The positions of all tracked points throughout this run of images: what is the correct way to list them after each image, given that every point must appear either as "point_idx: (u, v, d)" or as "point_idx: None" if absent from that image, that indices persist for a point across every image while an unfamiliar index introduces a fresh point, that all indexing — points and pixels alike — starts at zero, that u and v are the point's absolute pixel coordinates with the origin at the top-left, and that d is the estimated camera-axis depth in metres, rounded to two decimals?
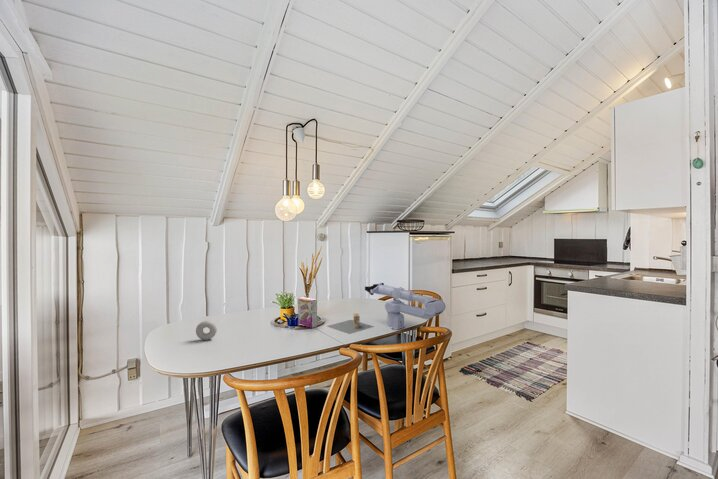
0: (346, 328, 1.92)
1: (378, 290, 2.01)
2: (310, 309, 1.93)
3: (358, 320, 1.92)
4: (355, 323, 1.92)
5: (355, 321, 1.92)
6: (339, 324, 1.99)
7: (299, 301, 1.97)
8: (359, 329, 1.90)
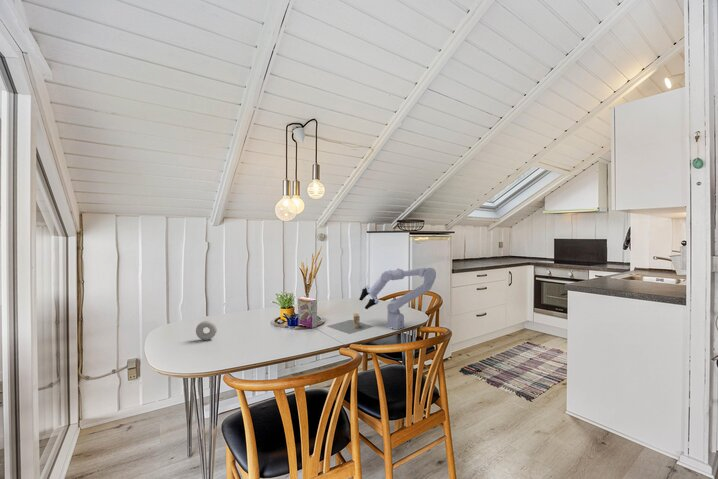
0: (346, 328, 1.92)
1: (375, 295, 1.98)
2: (310, 309, 1.93)
3: (358, 320, 1.92)
4: (355, 323, 1.92)
5: (355, 321, 1.92)
6: (339, 324, 1.99)
7: (299, 301, 1.97)
8: (359, 329, 1.90)
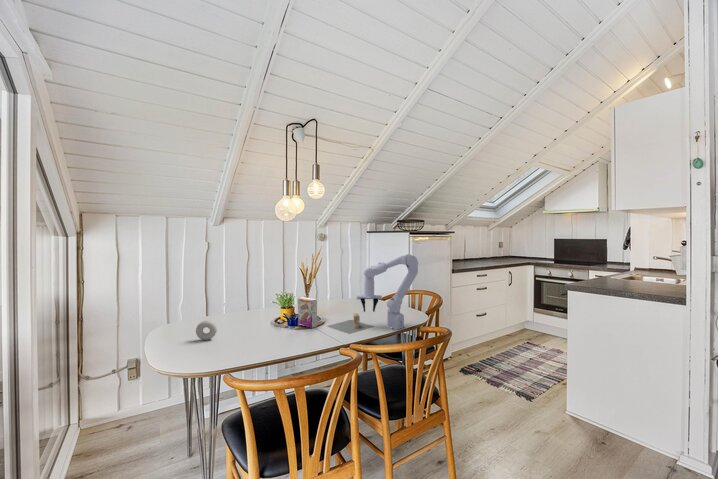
0: (346, 328, 1.92)
1: None
2: (310, 309, 1.93)
3: (358, 320, 1.92)
4: (355, 323, 1.92)
5: (355, 321, 1.92)
6: (339, 324, 1.99)
7: (299, 301, 1.97)
8: (359, 329, 1.90)
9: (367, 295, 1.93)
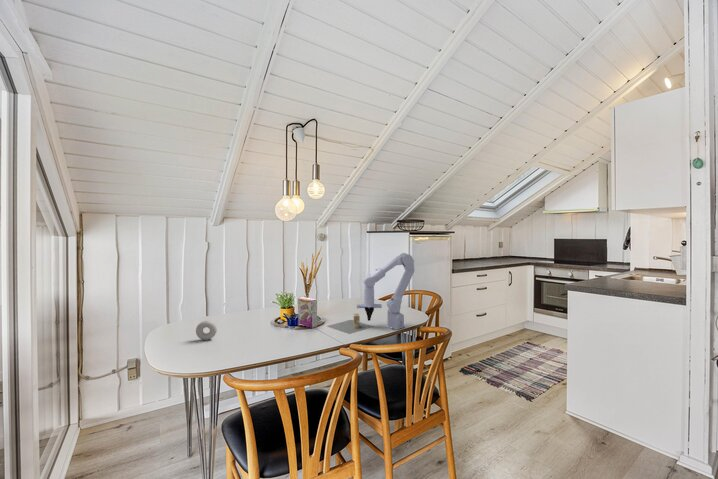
0: (346, 328, 1.92)
1: None
2: (310, 309, 1.93)
3: (358, 320, 1.92)
4: (355, 323, 1.92)
5: (355, 321, 1.92)
6: (339, 324, 1.99)
7: (299, 301, 1.97)
8: (359, 329, 1.90)
9: (367, 304, 1.93)
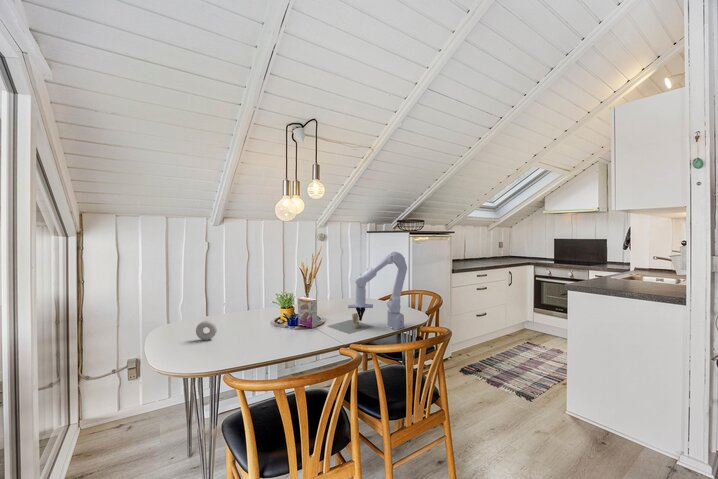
0: (346, 328, 1.92)
1: None
2: (310, 309, 1.93)
3: (357, 320, 1.92)
4: (354, 323, 1.92)
5: (354, 321, 1.92)
6: (339, 324, 1.99)
7: (299, 301, 1.97)
8: (359, 329, 1.90)
9: (358, 304, 1.93)
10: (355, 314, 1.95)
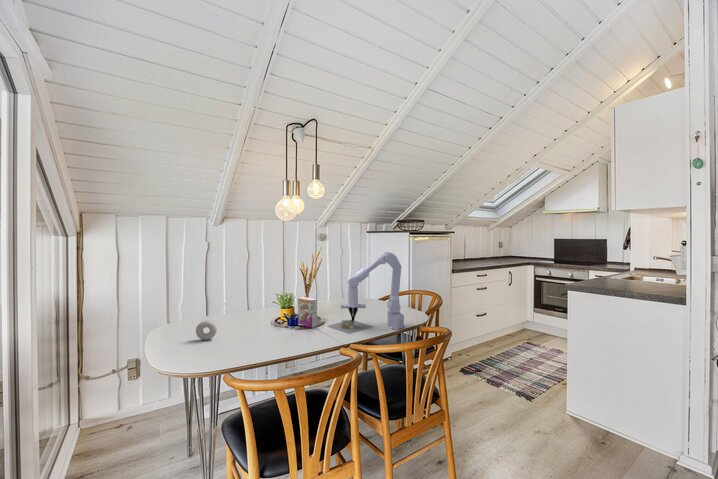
0: (346, 328, 1.92)
1: (357, 303, 1.95)
2: (310, 309, 1.93)
3: (346, 324, 1.92)
4: (348, 327, 1.92)
5: (347, 327, 1.92)
6: (339, 324, 1.99)
7: (299, 301, 1.97)
8: (359, 329, 1.90)
9: (351, 304, 1.92)
10: None
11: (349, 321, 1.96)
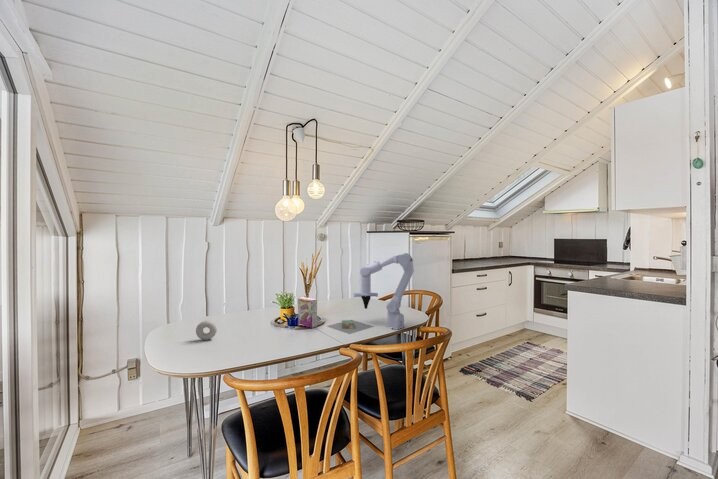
0: (346, 328, 1.92)
1: (370, 292, 2.03)
2: (310, 309, 1.93)
3: (346, 324, 1.92)
4: (348, 327, 1.92)
5: (347, 327, 1.92)
6: (339, 324, 1.99)
7: (299, 301, 1.97)
8: (359, 329, 1.90)
9: (364, 292, 2.00)
10: None
11: (349, 321, 1.96)
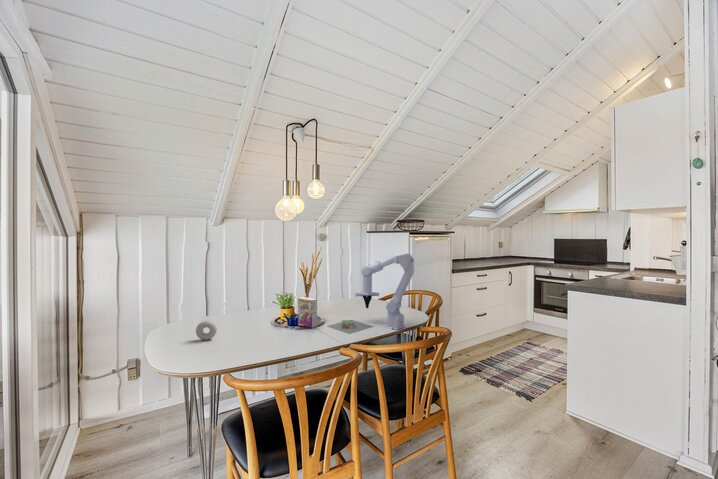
0: (346, 328, 1.92)
1: (371, 291, 2.04)
2: (310, 309, 1.93)
3: (346, 324, 1.92)
4: (348, 327, 1.92)
5: (347, 327, 1.92)
6: (339, 324, 1.99)
7: (299, 301, 1.97)
8: (359, 329, 1.90)
9: (365, 292, 2.01)
10: None
11: (349, 321, 1.96)
